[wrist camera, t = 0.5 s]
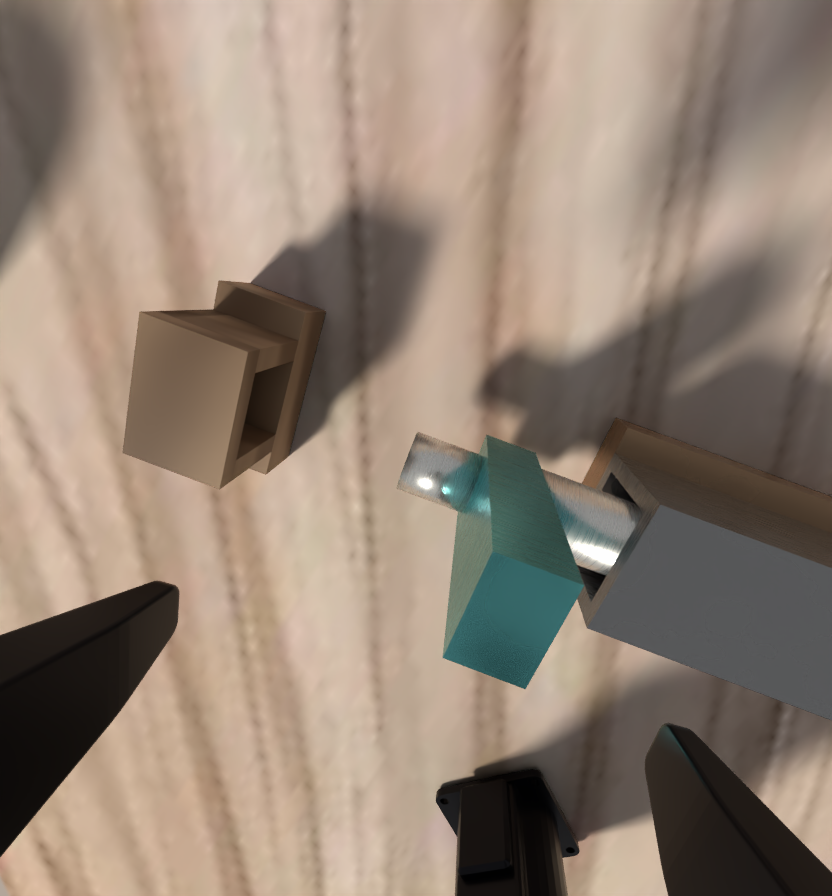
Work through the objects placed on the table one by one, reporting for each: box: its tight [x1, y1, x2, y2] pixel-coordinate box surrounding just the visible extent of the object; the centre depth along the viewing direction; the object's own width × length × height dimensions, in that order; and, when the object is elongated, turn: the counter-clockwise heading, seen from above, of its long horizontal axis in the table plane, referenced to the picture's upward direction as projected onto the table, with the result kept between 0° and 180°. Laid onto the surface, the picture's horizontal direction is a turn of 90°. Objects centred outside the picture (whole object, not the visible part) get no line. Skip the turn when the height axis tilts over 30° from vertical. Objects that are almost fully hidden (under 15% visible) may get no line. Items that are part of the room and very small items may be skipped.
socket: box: [123, 281, 326, 489], centre depth 17 cm, size 4×7×6 cm, turn 161°
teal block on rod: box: [397, 432, 643, 689], centre depth 14 cm, size 18×3×9 cm, turn 71°
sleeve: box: [577, 418, 832, 720], centre depth 17 cm, size 12×7×6 cm, turn 71°
